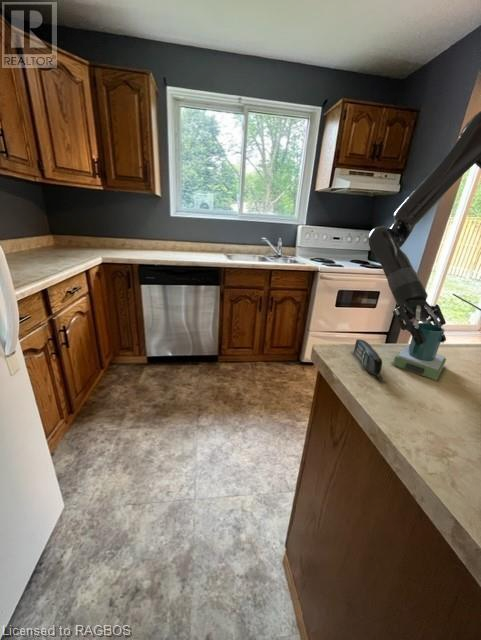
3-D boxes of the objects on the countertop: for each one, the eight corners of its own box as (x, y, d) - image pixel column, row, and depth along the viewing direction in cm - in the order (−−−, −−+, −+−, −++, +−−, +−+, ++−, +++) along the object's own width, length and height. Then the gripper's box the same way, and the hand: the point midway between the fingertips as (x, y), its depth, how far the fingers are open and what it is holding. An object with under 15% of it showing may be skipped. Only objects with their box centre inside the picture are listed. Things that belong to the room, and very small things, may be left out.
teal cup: (411, 348, 77) (419, 321, 74) (436, 356, 73) (446, 328, 70) (405, 354, 73) (413, 326, 70) (432, 363, 69) (442, 334, 66)
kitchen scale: (403, 353, 80) (406, 344, 79) (443, 366, 74) (447, 356, 73) (392, 366, 73) (395, 355, 72) (435, 381, 67) (439, 370, 66)
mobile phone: (354, 337, 78) (377, 362, 64) (365, 338, 78) (390, 362, 64) (351, 353, 80) (373, 380, 65) (361, 353, 80) (385, 381, 65)
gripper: (395, 280, 71) (422, 340, 64) (437, 279, 75) (466, 335, 68) (376, 294, 77) (398, 350, 71) (415, 293, 81) (440, 345, 75)
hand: (431, 342), depth 70 cm, fingers closed on teal cup, 6 cm apart
